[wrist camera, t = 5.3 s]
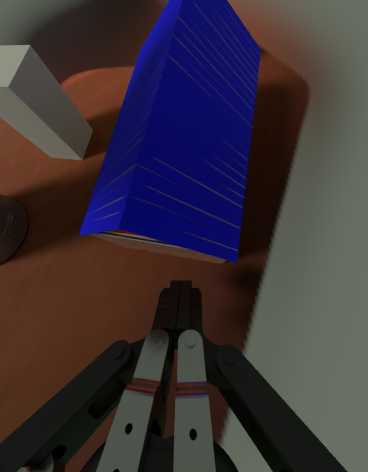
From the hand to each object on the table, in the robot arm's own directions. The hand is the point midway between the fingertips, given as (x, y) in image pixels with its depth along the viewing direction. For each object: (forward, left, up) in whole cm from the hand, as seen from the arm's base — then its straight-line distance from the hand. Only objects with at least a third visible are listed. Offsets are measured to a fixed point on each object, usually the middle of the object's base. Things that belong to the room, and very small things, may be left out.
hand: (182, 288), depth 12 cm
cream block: (-19, +16, -5) cm, 26 cm away
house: (-2, +13, -5) cm, 14 cm away
